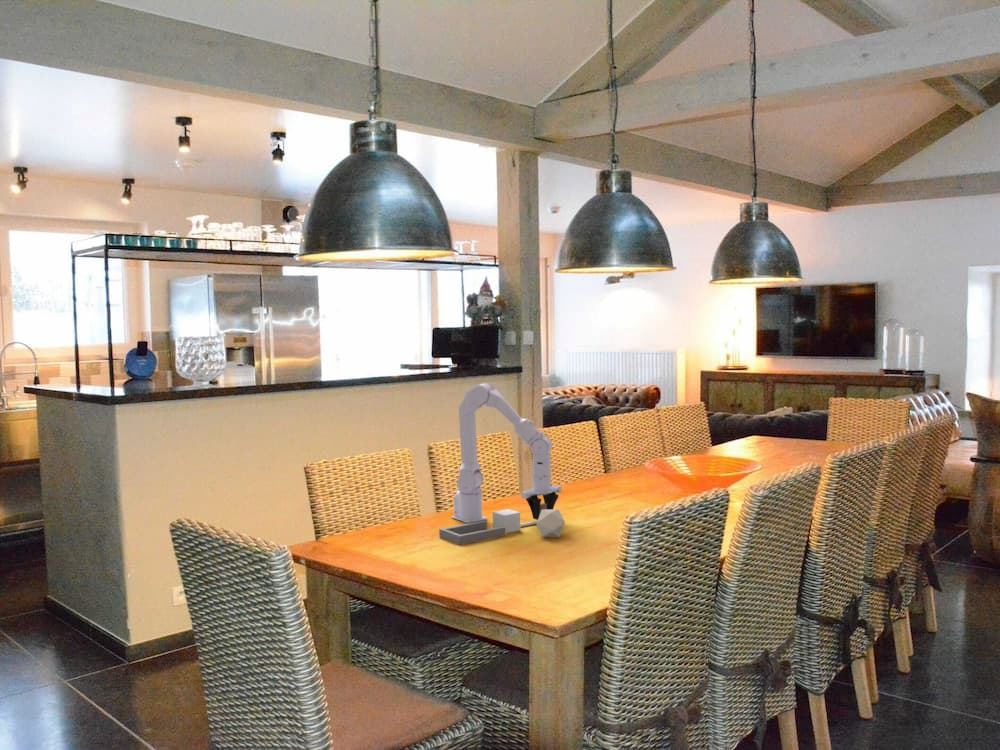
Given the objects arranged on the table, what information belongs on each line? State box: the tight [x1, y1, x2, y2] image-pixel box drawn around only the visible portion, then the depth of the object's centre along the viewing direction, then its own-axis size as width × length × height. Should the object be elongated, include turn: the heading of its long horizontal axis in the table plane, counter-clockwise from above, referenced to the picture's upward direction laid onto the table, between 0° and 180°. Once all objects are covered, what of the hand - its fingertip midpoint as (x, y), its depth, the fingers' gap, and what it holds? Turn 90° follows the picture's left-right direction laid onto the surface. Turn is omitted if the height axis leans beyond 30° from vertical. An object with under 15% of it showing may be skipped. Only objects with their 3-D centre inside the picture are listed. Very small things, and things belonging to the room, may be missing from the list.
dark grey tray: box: [438, 520, 506, 546], centre depth 259 cm, size 11×16×2 cm
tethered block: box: [492, 502, 547, 534], centre depth 270 cm, size 6×18×6 cm, turn 126°
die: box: [535, 508, 566, 538], centre depth 258 cm, size 8×9×10 cm
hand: (542, 517), depth 274 cm, fingers open, 4 cm apart
